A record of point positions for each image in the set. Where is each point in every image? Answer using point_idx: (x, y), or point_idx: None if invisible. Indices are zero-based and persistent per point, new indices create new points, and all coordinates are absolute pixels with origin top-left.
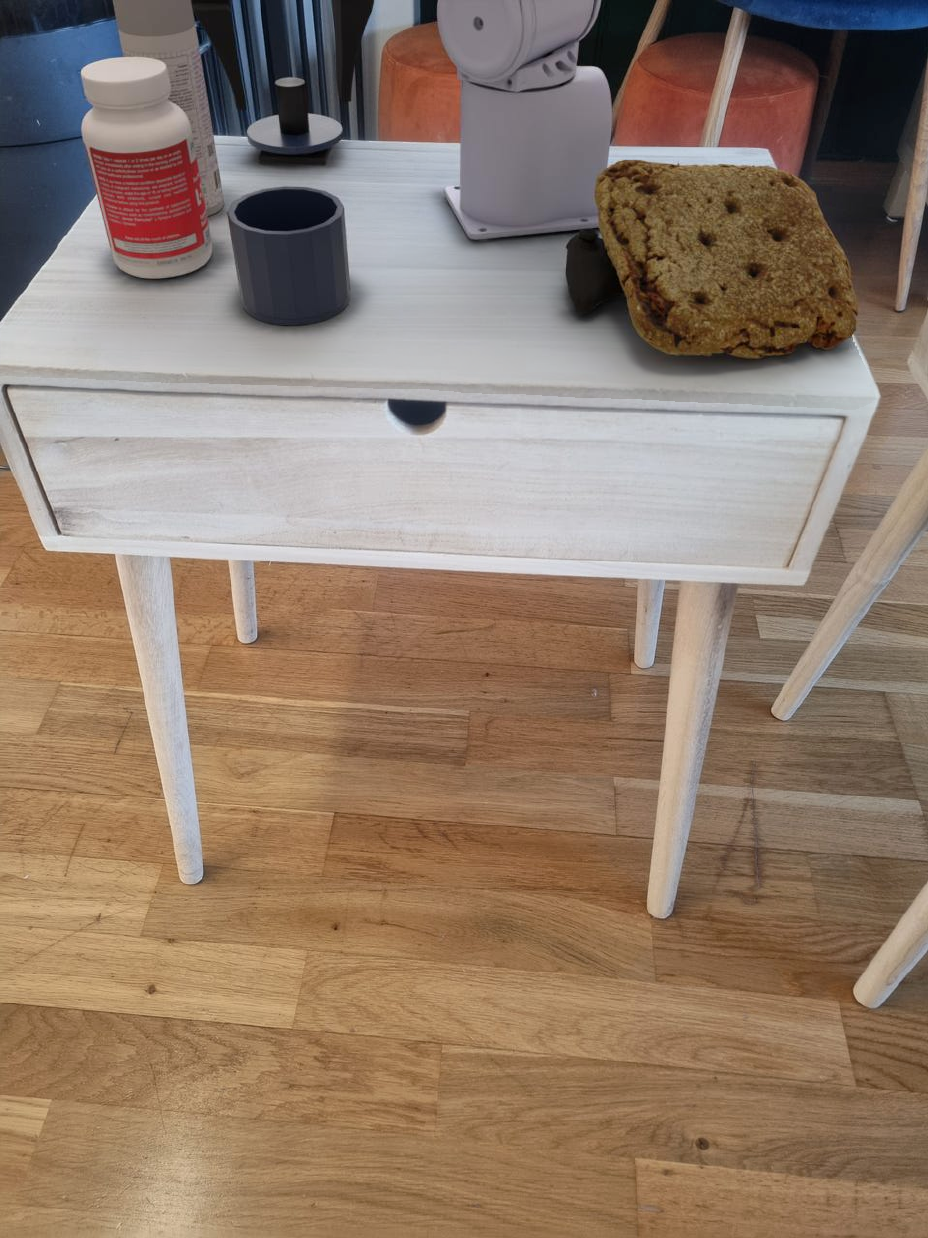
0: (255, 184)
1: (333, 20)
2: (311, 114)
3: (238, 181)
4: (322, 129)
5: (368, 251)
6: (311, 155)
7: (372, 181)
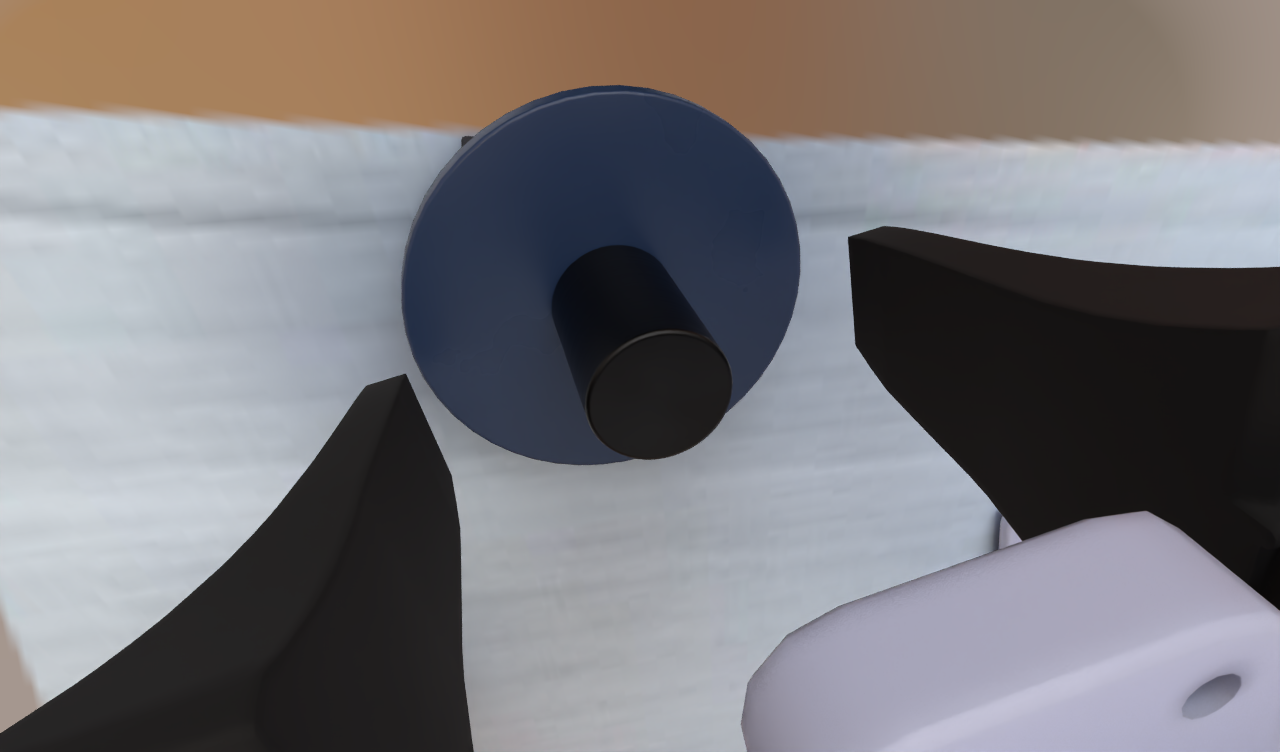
0: (497, 527)
1: (1069, 308)
2: (669, 108)
3: None
4: (723, 291)
5: None
6: None
7: (838, 456)
